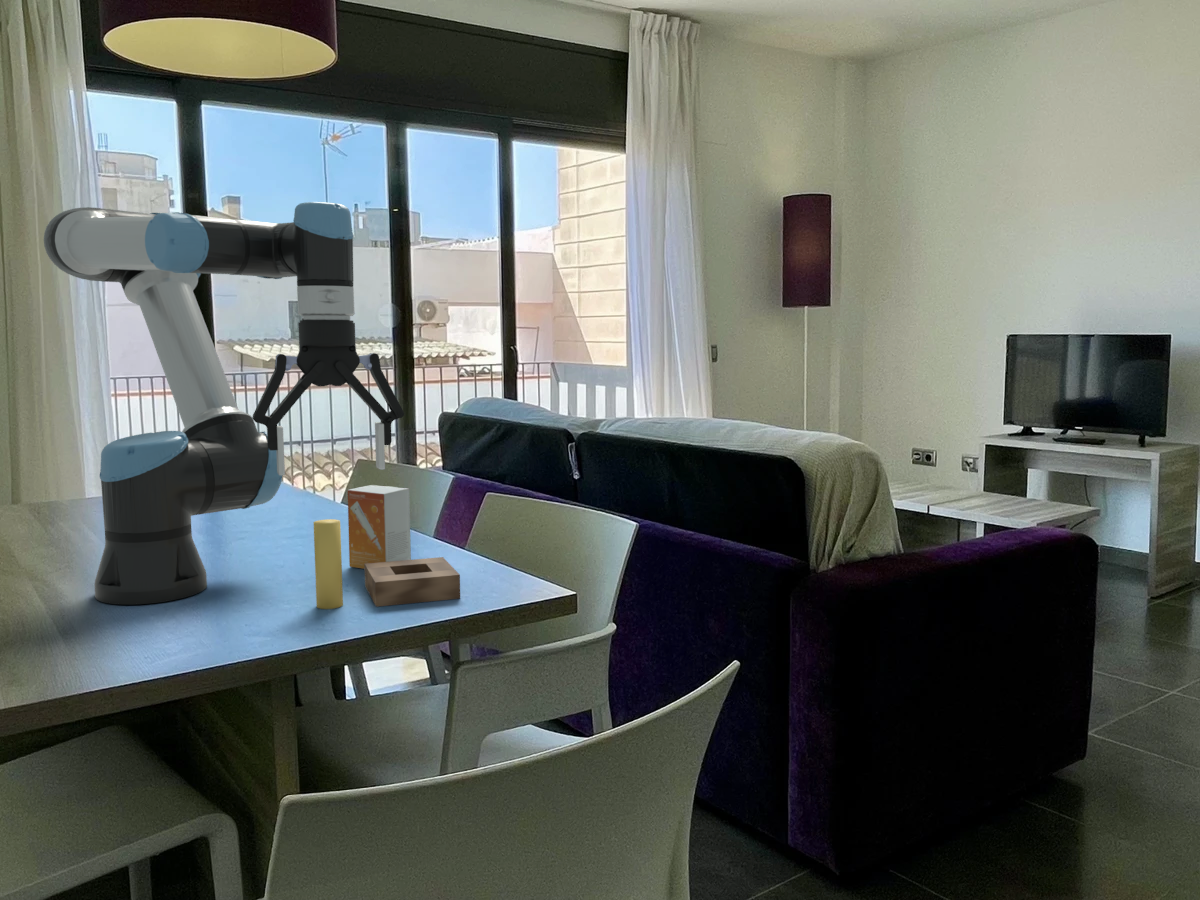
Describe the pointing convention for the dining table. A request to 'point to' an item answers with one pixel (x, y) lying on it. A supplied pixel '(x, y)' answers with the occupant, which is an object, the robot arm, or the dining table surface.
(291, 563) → the dining table surface
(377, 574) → the socket block
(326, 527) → the peg
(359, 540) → the small box
